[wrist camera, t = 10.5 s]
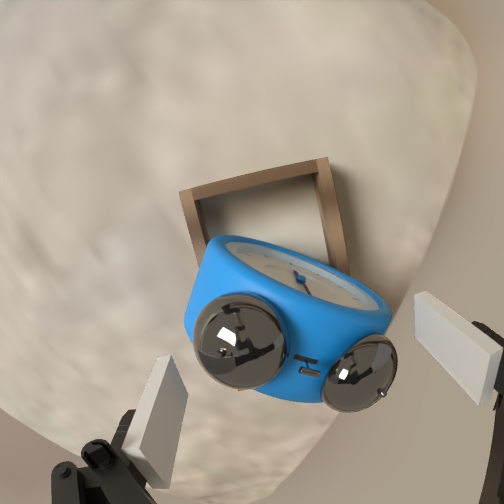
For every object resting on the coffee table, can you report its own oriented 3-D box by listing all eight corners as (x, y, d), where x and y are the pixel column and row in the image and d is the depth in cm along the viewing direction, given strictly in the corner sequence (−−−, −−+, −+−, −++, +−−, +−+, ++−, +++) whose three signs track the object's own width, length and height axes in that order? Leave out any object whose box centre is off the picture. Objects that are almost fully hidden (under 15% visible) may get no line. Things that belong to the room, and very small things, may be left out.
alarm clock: (355, 272, 28) (445, 352, 13) (328, 330, 29) (386, 440, 14) (218, 222, 26) (188, 272, 12) (196, 288, 28) (153, 391, 13)
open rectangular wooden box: (187, 190, 27) (178, 191, 24) (316, 159, 27) (327, 156, 23) (238, 369, 32) (238, 391, 28) (348, 342, 31) (359, 361, 28)
